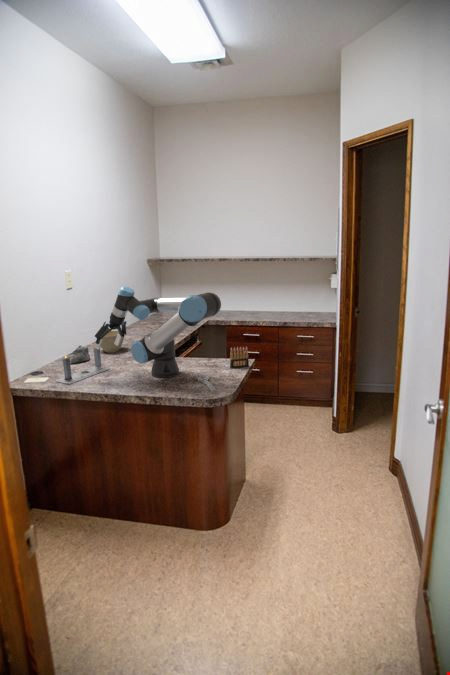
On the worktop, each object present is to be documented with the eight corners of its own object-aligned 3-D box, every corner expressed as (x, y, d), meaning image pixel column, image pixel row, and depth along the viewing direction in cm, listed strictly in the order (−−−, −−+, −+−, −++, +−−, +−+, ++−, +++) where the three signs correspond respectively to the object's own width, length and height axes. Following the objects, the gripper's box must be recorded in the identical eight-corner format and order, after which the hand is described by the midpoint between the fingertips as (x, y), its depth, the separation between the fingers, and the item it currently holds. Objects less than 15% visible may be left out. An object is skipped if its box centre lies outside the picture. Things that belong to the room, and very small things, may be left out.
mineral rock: (69, 365, 268) (67, 348, 266) (68, 360, 278) (66, 345, 276) (91, 362, 273) (89, 346, 271) (89, 358, 283) (88, 342, 280)
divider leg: (102, 366, 257) (100, 346, 254) (98, 367, 255) (96, 347, 252) (98, 365, 259) (96, 345, 256) (94, 367, 256) (92, 346, 253)
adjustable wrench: (218, 394, 214) (217, 390, 213) (204, 395, 212) (204, 392, 212) (208, 378, 237) (208, 374, 237) (196, 379, 236) (196, 376, 236)
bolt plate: (110, 368, 258) (108, 346, 255) (69, 384, 233) (66, 359, 230) (97, 366, 263) (95, 344, 260) (56, 381, 237) (53, 357, 234)
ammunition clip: (248, 365, 256) (247, 345, 253) (249, 366, 254) (248, 346, 251) (229, 367, 253) (229, 347, 251) (230, 368, 252) (230, 348, 249)
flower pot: (127, 352, 292) (125, 334, 290) (98, 356, 286) (97, 337, 284) (123, 346, 309) (122, 329, 306) (96, 349, 303) (94, 332, 300)
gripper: (131, 308, 248) (119, 339, 257) (95, 312, 228) (83, 345, 237) (140, 316, 245) (127, 347, 254) (104, 320, 225) (92, 353, 234)
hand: (106, 346), depth 246 cm, fingers open, 13 cm apart
